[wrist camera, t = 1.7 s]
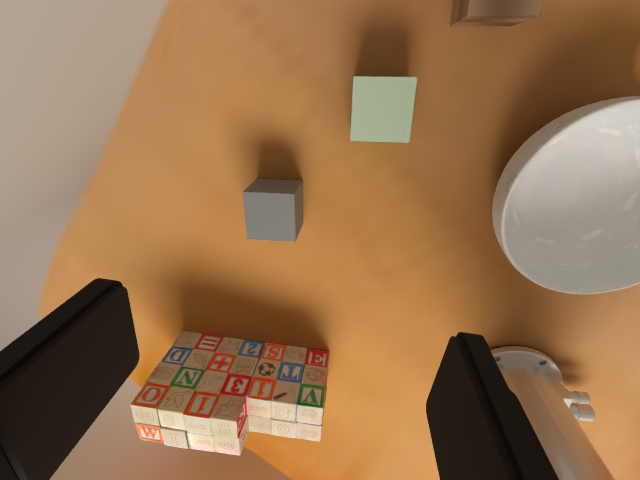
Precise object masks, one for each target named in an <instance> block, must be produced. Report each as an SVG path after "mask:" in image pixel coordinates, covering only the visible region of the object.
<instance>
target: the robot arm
mask: <svg viewBox="0 0 640 480" xmlns="http://www.w3.org/2000/svg"><path fill="white" fill-rule="evenodd" d="M138 361H139V349H138V344H137V339H136V334H135V329H134V323H133V318H132V313H131V308H130V302H129V297H128V292H127V289H126V288H125V287H123V285H122V283H121V282H119V281H115V280H108V279H101V278H98V279H95V280H93V281H92V282H91V283H89V284H88V285H87V286H85V287H84V288H83V289H81V290H80V291H79V292H77V293H76V294H75V295H74V296H72V297H71V298H70V299H68V300H67V301H66V302H64V303H63V304H62V305H60V306H59V307H58V308H56V309H55V310H54V311H53V312H51V313H50V314H49V315H47V316H46V317H45V318H43V319H42V320H41V321H39V322H38V323H37V324H36V325H34V326H33V327H32V328H30V329H29V330H28V331H26V332H25V333H24V334H23V335H21V336H20V337H18V338H17V339H16V340H15V341H13V342H12V343H11V344H9V345H8V346H7V347H5V348H4V349H3V350H2V351H0V480H49V479H50V478H51V477H52V475H53V474H54V473H55V471H56V470H57V469H58V468H59V466H60V465H61V464H62V462H63V461H64V460H65V458H66V457H67V456H68V455H69V453H70V452H71V451H72V449H73V448H74V447H75V445H76V444H77V443H78V442H79V440H80V439H81V438H82V436H83V435H84V434H85V432H86V431H87V430H88V428H89V427H90V426H91V425H92V423H93V422H94V421H95V419H96V418H97V417H98V416H99V414H100V413H101V411H102V410H103V409H104V408H105V406H106V405H107V404H108V403H109V401H110V400H111V399H112V397H113V396H114V395H115V393H116V392H117V391H118V389H119V388H120V387H121V386H122V384H123V383H124V382H125V380H126V379H127V378H128V377H129V375H130V374H131V373H132V371H133V370H134V369H135V367H136V366H137V364H138ZM590 401H591V400H590V396H589V394H588V393H587V392H578V391H574V392H572V391H568V390H567V389H566V388H564V386H563V385H562V375H561V372H560V370H559V368H558V367H557V365H556V364H555V362H554V361H553V360H552V359H551V358H550V357H549V356H547V355H546V354H544V353H543V352H540V351H538V350H535V349H532V348H528V347H520V346H508V347H500V348H495V349H492V350H490V349H489V347H488V345H487V343H486V341H485V339H484V337H483V336H482V335H477V334H471V333H464V332H459V333H458V334H457V336H456V337H455V336H452V337H451V338H450V340H449V342H448V345H447V348H446V350H445V353H444V356H443V358H442V361H441V364H440V367H439V369H438V372H437V375H436V377H435V380H434V383H433V385H432V388H431V391H430V394H429V396H428V399H427V403H426V413H427V419H428V424H429V428H430V433H431V438H432V443H433V448H434V452H435V457H436V462H437V467H438V471H439V476H440V480H615V479H614V477H613V476H612V474H611V473H610V471H609V470H608V468H607V467H606V465H605V464H604V462H603V460H602V459H601V457H600V456H599V454H598V453H597V451H596V450H595V448H594V446H593V445H592V443H591V442H590V440H589V439H588V437H587V436H586V434H585V433H584V431H583V429H582V428H581V426H580V425H579V423H578V422H577V420H583V421H593V420H594V419H595V413H594V410H593V408H592V407H591V406H590V405H588V404H589V403H590ZM572 402H576V403H572ZM571 403H572V404H571ZM578 403H581V404H578Z"/></svg>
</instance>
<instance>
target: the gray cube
mask: <svg viewBox="0 0 640 480" xmlns="http://www.w3.org/2000/svg"><path fill="white" fill-rule="evenodd" d="M243 198H244V208H245V219H246V229H247V239H258V240H275V241H293V242H296V239H297V237H298V234H299V232H300V229H301V227H302V224H303V180H286V179H260V178H257V179H256V180H255V181H254V182H253V183H252V184H251V185H250V186H249V187H248V188H247V189H245V190H244V191H243Z"/></svg>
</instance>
